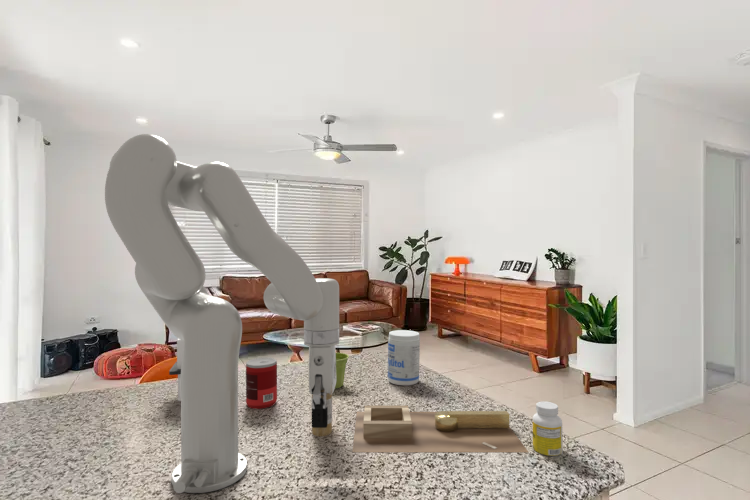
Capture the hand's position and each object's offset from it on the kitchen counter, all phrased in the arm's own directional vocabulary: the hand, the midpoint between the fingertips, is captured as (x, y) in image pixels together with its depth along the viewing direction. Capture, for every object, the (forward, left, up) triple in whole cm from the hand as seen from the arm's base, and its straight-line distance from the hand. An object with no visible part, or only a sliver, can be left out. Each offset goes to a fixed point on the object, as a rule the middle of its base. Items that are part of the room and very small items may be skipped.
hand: (321, 418), depth 90 cm
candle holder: (+25, +38, -4) cm, 46 cm away
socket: (+2, -14, -3) cm, 14 cm away
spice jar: (0, 0, -4) cm, 4 cm away
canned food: (+19, +18, -4) cm, 26 cm away
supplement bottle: (-8, -45, -4) cm, 46 cm away
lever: (+2, -33, -2) cm, 33 cm away
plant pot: (+33, +1, -4) cm, 33 cm away
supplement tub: (+37, -20, -4) cm, 42 cm away
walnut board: (+1, -24, -4) cm, 24 cm away
